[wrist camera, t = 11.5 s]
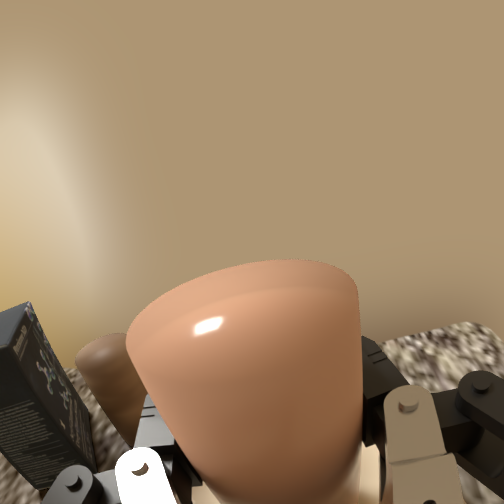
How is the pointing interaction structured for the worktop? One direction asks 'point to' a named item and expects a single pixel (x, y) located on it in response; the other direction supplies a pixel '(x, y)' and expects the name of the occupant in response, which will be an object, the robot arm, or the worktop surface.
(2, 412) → the box
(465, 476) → the worktop surface
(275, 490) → the salmon orange cylinder
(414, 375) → the worktop surface
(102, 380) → the walnut cylinder
